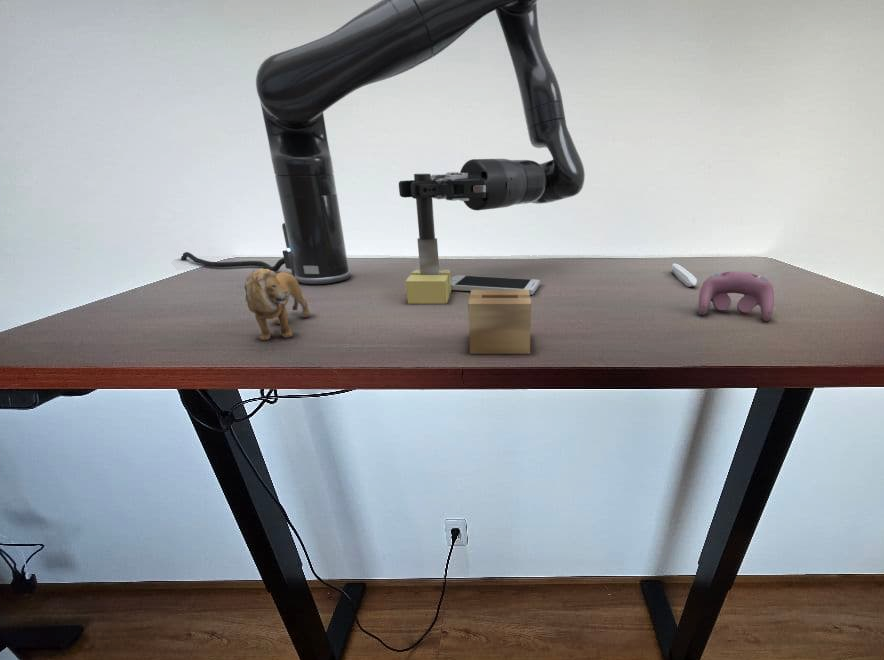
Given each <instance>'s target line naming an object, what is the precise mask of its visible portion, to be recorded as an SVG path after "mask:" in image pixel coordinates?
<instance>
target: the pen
mask: <svg viewBox="0 0 884 660" xmlns="http://www.w3.org/2000/svg"><path fill="white" fill-rule="evenodd" d="M671 271H672V273H673V274H674V276H675V277H676V278H677V279H678V280H679V281H680V282H682V283H683V284H684V285H685V286H686V287H691V288H692V287H696V286H697V284H698V278H697V277H696V276H695V275H693V274H692V273H691V272H690V271H688V270H687V269H686V268H684V267H683V266H682V265H680V264H678V263H672V264H671Z"/></svg>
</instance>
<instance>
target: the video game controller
mask: <svg viewBox="0 0 884 660" xmlns="http://www.w3.org/2000/svg"><path fill="white" fill-rule="evenodd" d="M729 294H739V295H743V296H742V297H741V298H739V300H738V302H737V305H736V309H737V311H738V313H740V314H742V315H747V314H748V315H749V314H750V313H751V312H752V311H753V310H754V309H755V308H756V306H759V308H760V314H761V318H762V320H763V321H764V322H768V321H770V320H771V318H772V316H773V313H774V306H775V291H774V286H773V284H772V283H771V282H770V281H769V279H768V278H767V277H766V276H763V275H757V274H754V273H751V272H747V271H735V270H734V271H733V270H730V271H725V272H716V273H714V274H713V275H710V276H709V277H707V278H706V279H705V280H704V281H703V283H702V284H701V287H700V290H699V295H698V313H699V315H700V316H705V315H706V314H707V313H708V310H709V307H710V305H711V302H712V305H713V308H714V309H715V311H717V312H721V313H722V312H726V311H727V310H729V308H730V307H731V305H732V299H731V297H730V295H729Z"/></svg>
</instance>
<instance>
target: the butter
mask: <svg viewBox="0 0 884 660" xmlns="http://www.w3.org/2000/svg"><path fill="white" fill-rule="evenodd" d="M439 274H440V275H420V269H414V270H413V271H412V272H411V274H410V275H409V276H408V277H407V279H406V280H405V288H406V289H405V290H406V298H407V304H408V305H409V304H410V305H412V304H415V305H420V304H422V305H423V304H425V305H426V304H427V305H429V304H431V305H440V304H442V305H446V304H447V303H448V301H449V298H450V295H451V293H452V290H451V278H452V277H451V276H452V275H451V270H450V269H439Z"/></svg>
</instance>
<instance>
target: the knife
mask: <svg viewBox="0 0 884 660" xmlns="http://www.w3.org/2000/svg"><path fill="white" fill-rule="evenodd" d="M431 175H432V174H431V173H424V172H423V173H413V180H414V182H418V181H431ZM415 203H416V215H417V227H418V237H417V238H416V239H417V249H418V250H417V251H418V262H419V270H420V275H440V274H439V270H440V262H439V261H440V260H439V248H438V247H439V246H438V237H437V238H436V232H435V219H434V207H433V206H434V204H433V203H434V202H433V198H422V199H415Z"/></svg>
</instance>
